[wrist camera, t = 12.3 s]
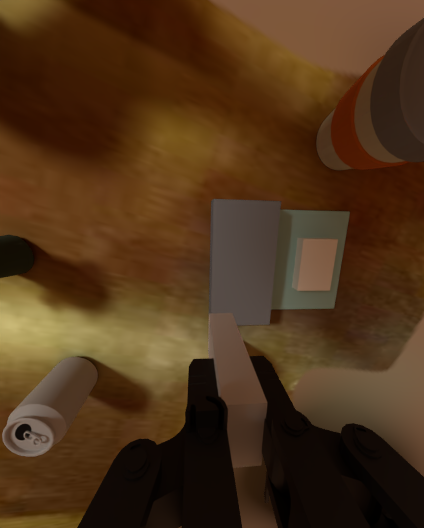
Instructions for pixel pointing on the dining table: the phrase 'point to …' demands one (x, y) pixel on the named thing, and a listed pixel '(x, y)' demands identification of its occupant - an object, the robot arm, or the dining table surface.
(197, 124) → the dining table surface
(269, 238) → the board
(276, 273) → the mat
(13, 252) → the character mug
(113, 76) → the dining table surface
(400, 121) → the reusable coffee cup
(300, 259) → the beige rectangular block
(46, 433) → the can
